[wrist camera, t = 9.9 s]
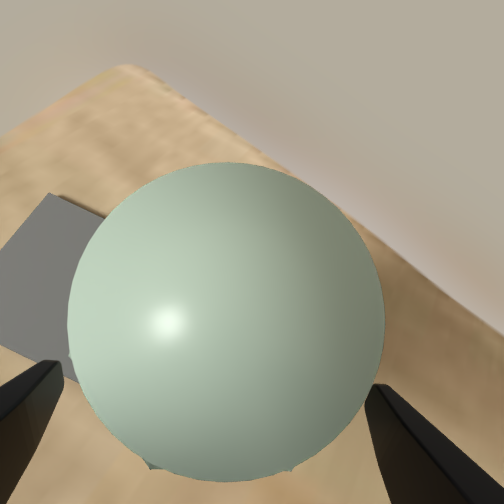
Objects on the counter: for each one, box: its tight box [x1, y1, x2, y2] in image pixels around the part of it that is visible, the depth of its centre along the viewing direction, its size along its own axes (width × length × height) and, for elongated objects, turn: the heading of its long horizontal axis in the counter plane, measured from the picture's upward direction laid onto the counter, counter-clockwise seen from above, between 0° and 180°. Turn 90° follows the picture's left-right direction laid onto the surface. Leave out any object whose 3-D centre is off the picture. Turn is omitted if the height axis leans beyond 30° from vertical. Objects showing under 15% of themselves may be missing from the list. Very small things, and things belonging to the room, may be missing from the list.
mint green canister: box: [67, 162, 385, 482], centre depth 13 cm, size 7×7×13 cm
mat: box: [0, 193, 105, 384], centre depth 19 cm, size 9×9×1 cm
